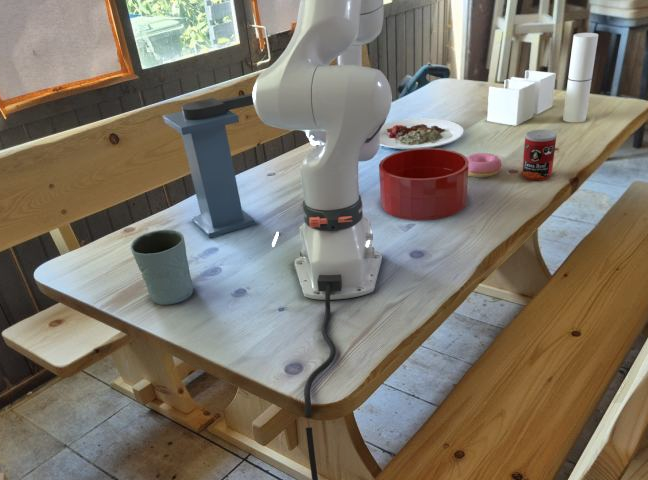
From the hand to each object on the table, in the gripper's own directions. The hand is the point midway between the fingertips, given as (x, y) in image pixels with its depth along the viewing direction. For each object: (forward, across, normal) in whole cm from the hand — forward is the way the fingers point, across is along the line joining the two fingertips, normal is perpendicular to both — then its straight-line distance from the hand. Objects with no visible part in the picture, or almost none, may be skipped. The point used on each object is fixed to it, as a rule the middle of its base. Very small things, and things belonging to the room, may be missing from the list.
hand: (277, 111), depth 143 cm
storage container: (-95, -15, -29) cm, 101 cm away
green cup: (+23, +26, +40) cm, 53 cm away
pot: (-34, +23, +7) cm, 42 cm away
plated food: (-59, -20, -8) cm, 63 cm away
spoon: (+13, 0, +4) cm, 14 cm away
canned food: (-63, +29, -10) cm, 70 cm away
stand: (+5, 0, +29) cm, 30 cm away
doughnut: (-55, +17, -5) cm, 58 cm away
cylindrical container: (-102, +2, -32) cm, 107 cm away
